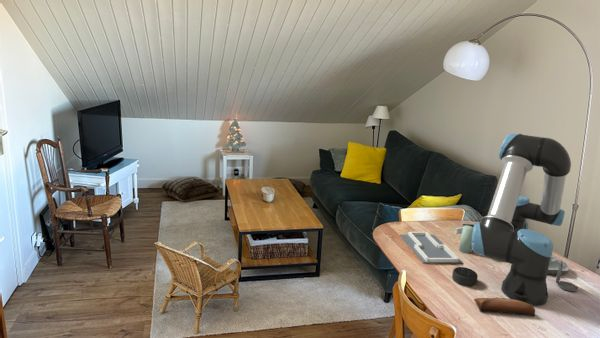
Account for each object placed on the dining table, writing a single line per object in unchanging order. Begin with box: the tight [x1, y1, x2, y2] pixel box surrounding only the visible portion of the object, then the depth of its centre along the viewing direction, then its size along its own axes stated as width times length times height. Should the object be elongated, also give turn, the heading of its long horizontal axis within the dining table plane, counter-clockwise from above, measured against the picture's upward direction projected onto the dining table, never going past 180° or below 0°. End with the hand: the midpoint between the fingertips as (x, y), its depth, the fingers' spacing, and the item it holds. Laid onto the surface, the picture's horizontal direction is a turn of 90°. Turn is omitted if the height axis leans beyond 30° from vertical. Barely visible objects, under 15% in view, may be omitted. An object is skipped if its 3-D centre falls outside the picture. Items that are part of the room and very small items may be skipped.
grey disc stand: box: [555, 260, 579, 292], centre depth 166 cm, size 8×8×10 cm
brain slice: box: [547, 255, 570, 276], centre depth 184 cm, size 20×17×3 cm
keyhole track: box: [399, 231, 463, 265], centre depth 193 cm, size 28×17×2 cm, turn 8°
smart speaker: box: [451, 266, 478, 287], centre depth 166 cm, size 9×9×4 cm
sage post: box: [458, 225, 474, 254], centre depth 192 cm, size 5×5×11 cm
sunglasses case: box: [473, 297, 536, 317], centre depth 149 cm, size 18×7×7 cm
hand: (467, 237), depth 193 cm, fingers open, 13 cm apart
